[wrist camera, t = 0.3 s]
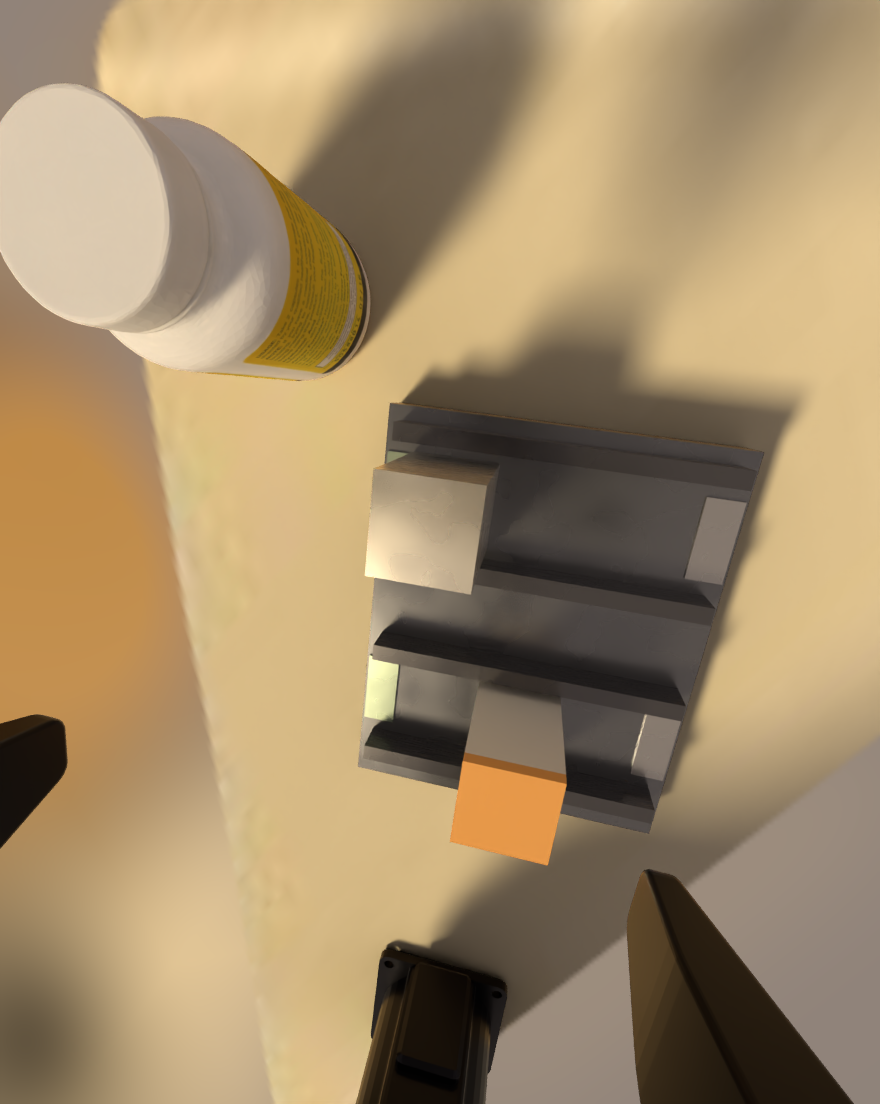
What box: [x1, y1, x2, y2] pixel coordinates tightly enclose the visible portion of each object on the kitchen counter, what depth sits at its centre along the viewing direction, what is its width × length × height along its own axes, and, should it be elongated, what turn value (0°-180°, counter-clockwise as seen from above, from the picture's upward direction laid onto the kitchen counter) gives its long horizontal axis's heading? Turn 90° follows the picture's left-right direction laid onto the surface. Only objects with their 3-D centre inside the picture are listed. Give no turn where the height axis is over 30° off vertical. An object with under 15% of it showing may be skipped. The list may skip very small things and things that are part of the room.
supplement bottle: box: [0, 83, 371, 381], centre depth 14 cm, size 5×5×10 cm
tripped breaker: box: [450, 681, 567, 865], centre depth 18 cm, size 3×3×5 cm
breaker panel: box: [358, 403, 764, 834], centre depth 18 cm, size 15×12×6 cm
